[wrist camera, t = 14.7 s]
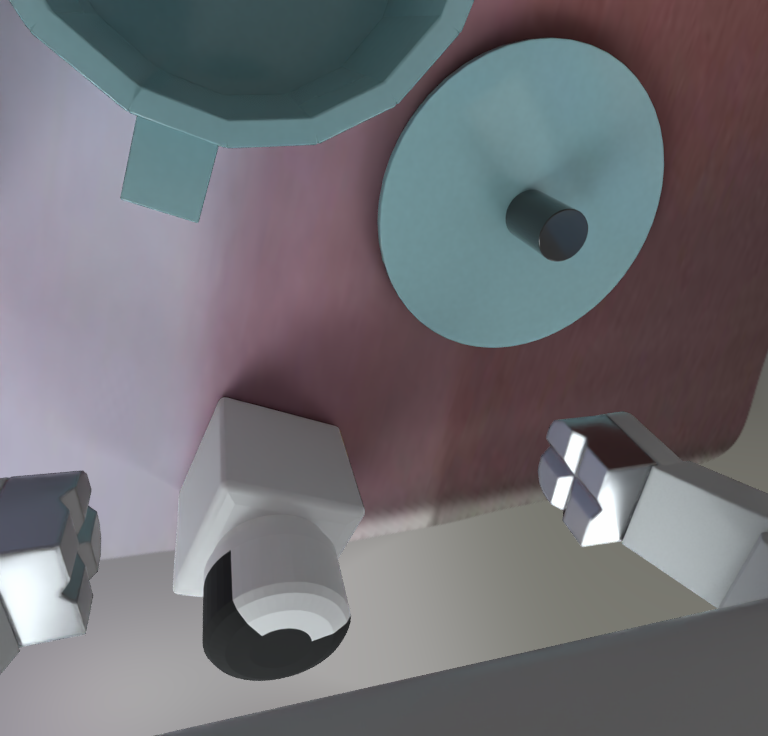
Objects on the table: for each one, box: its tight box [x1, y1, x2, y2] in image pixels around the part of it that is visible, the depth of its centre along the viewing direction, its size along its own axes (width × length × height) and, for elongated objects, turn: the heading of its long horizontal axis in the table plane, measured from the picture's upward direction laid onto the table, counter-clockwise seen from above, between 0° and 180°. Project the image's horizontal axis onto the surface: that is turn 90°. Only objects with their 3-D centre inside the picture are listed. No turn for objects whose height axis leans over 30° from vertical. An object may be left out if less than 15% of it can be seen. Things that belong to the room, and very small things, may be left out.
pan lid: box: [378, 37, 664, 348], centre depth 27 cm, size 15×15×5 cm
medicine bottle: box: [173, 397, 365, 681], centre depth 28 cm, size 7×7×12 cm
